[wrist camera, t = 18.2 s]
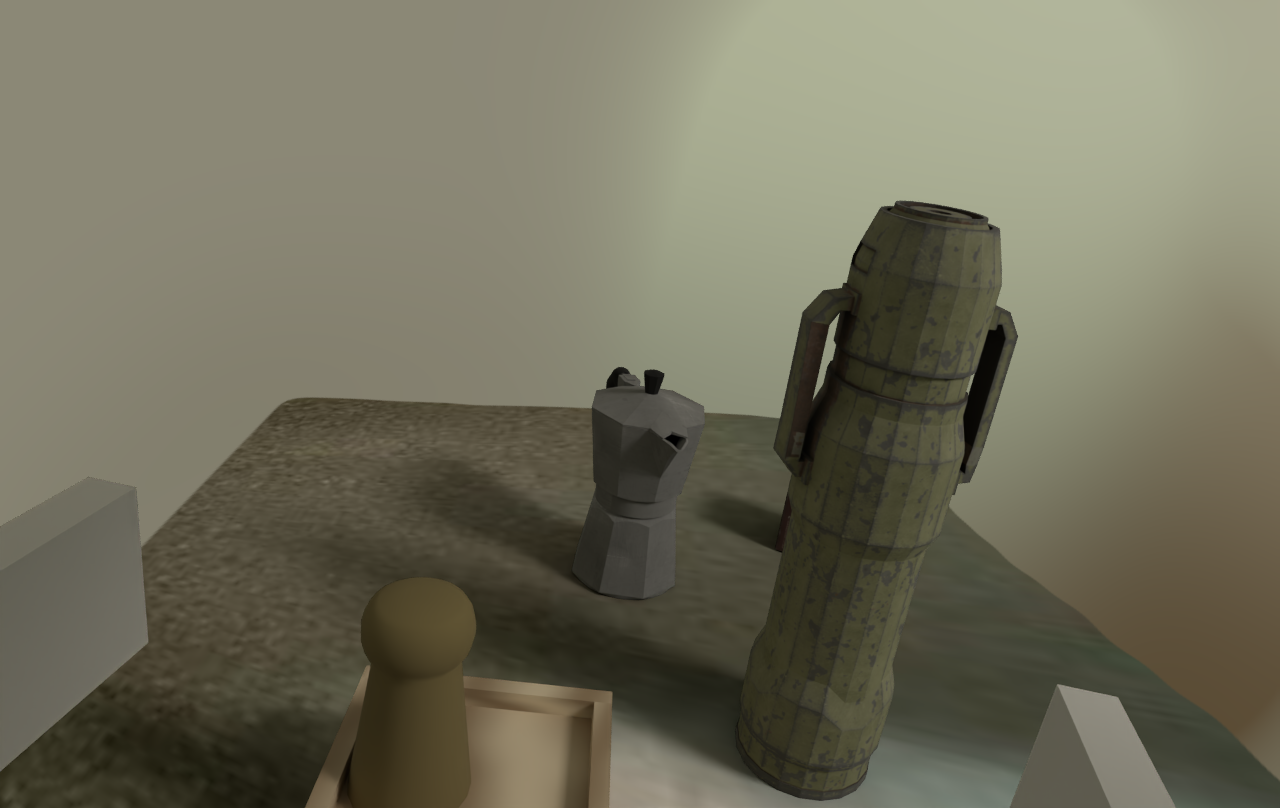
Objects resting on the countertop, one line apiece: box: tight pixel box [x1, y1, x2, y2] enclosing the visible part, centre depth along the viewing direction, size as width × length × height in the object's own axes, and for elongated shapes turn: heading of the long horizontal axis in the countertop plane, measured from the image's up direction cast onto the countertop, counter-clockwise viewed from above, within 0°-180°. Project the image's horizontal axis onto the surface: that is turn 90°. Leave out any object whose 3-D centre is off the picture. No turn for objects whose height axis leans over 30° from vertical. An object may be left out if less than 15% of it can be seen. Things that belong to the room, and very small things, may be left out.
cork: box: [347, 577, 477, 808], centre depth 42 cm, size 6×6×11 cm
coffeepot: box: [572, 367, 705, 600], centre depth 72 cm, size 15×9×18 cm, turn 20°
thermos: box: [735, 201, 1018, 800], centre depth 51 cm, size 9×12×35 cm
